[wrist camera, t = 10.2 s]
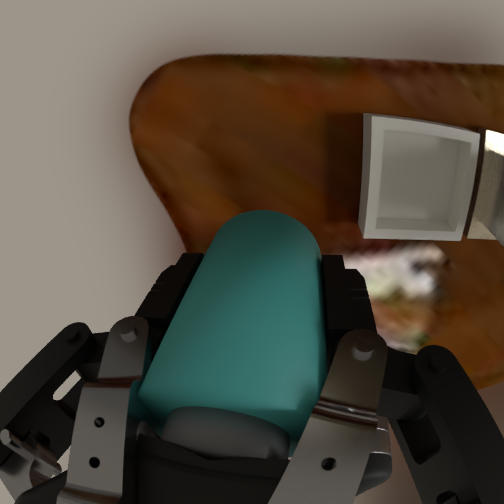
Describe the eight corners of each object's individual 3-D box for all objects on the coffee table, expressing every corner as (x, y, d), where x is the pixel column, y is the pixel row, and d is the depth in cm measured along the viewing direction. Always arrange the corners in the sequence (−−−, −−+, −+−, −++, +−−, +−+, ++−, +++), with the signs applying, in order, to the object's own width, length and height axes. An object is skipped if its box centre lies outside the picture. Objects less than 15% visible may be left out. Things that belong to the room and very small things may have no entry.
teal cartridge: (317, 304, 12) (313, 486, 6) (219, 300, 13) (163, 464, 6) (323, 210, 10) (345, 439, 3) (202, 211, 10) (86, 396, 4)
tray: (448, 226, 25) (460, 240, 23) (357, 223, 27) (363, 238, 24) (464, 128, 19) (479, 134, 17) (363, 112, 21) (371, 116, 19)
